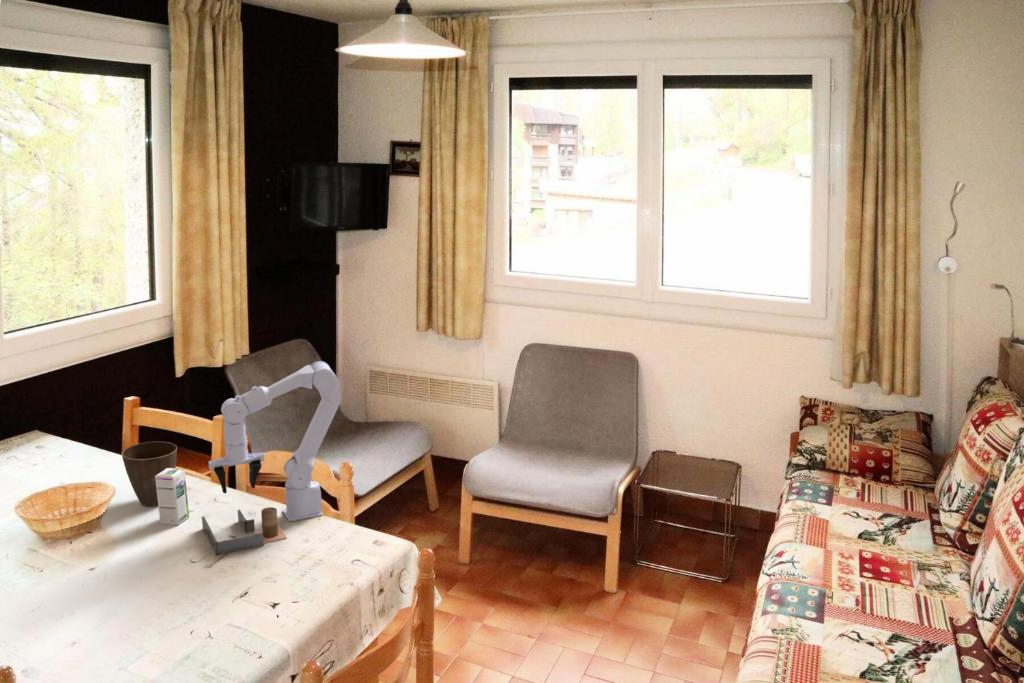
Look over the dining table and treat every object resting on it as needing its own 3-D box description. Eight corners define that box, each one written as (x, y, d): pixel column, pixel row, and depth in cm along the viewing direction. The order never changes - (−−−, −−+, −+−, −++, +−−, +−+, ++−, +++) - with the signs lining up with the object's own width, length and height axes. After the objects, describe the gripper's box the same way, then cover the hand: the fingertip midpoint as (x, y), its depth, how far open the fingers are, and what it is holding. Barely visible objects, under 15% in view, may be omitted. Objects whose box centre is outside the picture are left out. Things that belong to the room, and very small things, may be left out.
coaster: (279, 528, 257) (279, 527, 257) (286, 538, 251) (286, 537, 251) (253, 533, 254) (253, 532, 254) (260, 544, 248) (260, 542, 248)
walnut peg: (280, 535, 252) (279, 510, 251) (266, 539, 250) (265, 514, 248) (273, 530, 255) (272, 506, 253) (259, 533, 253) (258, 509, 251)
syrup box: (178, 525, 258) (174, 476, 255) (159, 523, 259) (154, 474, 256) (189, 517, 264) (185, 468, 260) (170, 515, 265) (166, 467, 261)
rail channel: (247, 519, 262) (246, 508, 261) (263, 546, 247) (263, 533, 246) (202, 528, 257) (201, 516, 256) (216, 555, 241) (215, 543, 240)
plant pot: (118, 500, 274) (113, 449, 270) (168, 487, 284) (164, 437, 280) (138, 517, 264) (133, 463, 260) (190, 502, 273) (185, 450, 269)
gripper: (258, 434, 261) (261, 479, 265) (205, 442, 255) (208, 489, 258) (265, 441, 255) (268, 488, 259) (210, 450, 249) (213, 498, 252)
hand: (238, 489), depth 258 cm, fingers open, 7 cm apart
